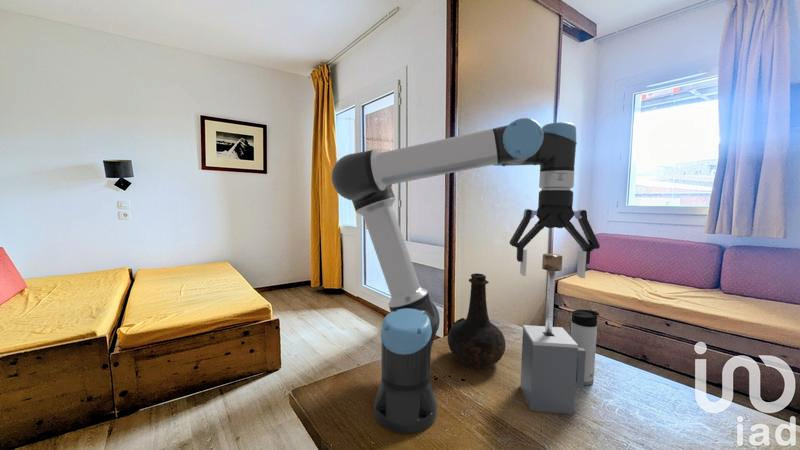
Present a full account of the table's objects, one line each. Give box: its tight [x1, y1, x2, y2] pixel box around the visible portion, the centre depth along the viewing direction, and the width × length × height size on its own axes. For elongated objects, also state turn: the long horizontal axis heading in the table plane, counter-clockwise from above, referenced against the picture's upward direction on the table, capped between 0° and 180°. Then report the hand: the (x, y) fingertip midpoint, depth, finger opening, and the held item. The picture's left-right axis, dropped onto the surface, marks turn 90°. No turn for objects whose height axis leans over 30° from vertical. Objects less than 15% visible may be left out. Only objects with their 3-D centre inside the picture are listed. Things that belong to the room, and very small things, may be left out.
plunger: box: [541, 253, 563, 336], centre depth 79 cm, size 4×4×24 cm
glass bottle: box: [447, 272, 507, 369], centre depth 99 cm, size 18×18×28 cm
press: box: [520, 324, 586, 415], centre depth 80 cm, size 14×10×17 cm
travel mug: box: [570, 309, 600, 386], centre depth 90 cm, size 6×7×20 cm
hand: (551, 275), depth 79 cm, fingers open, 13 cm apart
